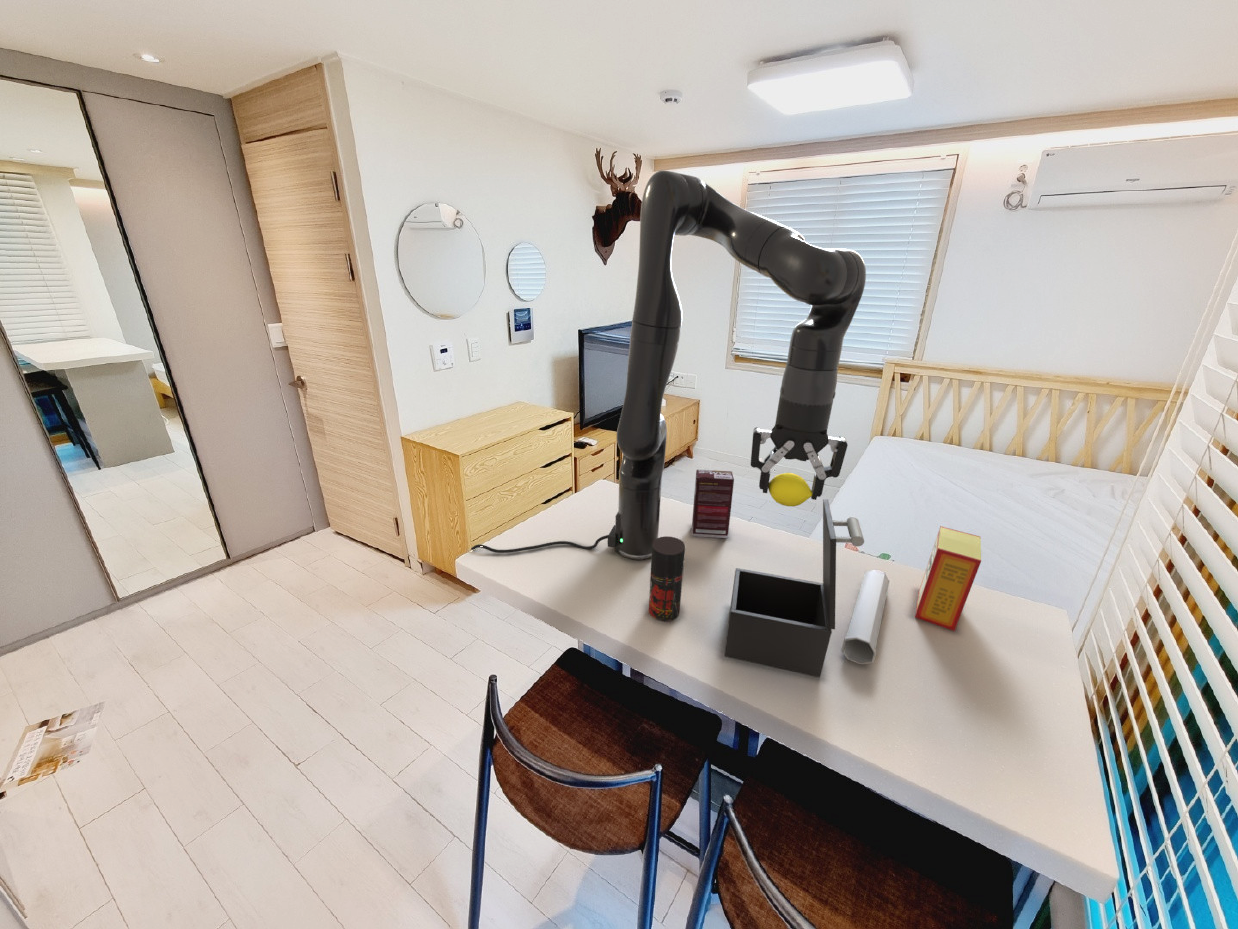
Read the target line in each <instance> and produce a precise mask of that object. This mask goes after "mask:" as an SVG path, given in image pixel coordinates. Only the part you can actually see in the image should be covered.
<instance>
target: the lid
mask: <svg viewBox="0 0 1238 929" xmlns="http://www.w3.org/2000/svg"><path fill="white" fill-rule="evenodd" d="M835 527H847V531H848V536H836V530H835ZM837 543H842V544H843V543H846V544H848V543H850V544H851V545H852V546H854V547H862V546H863V545H864V544H865V538H864V535H863V531H862V528H861V525H860V521H859V519H858V518H857V517H855V516H849V517H848V518H847V519H846V520H844V519H842V520H839V519H838V520H835V519H833V516H832V511H831V506H830V501H829V499H828V498H826V499H825V498H823V499H822V583H823V585H824V592H825V600H826V607H827V614H828V621H829V628H830V629H831V630H836V596H837V595H836V593H837V592H836V590H837V589H836V588H837V586H836V584H837Z"/></svg>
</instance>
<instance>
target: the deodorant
mask: <svg viewBox="0 0 1238 929" xmlns="http://www.w3.org/2000/svg"><path fill="white" fill-rule="evenodd" d="M685 553H686V544H685V542H684V541H682V540H681V539H680V538H678V537H675V536H666V535H665V536H660V537H659V536H658V538H657V539H655V540H654V541H653V543H652V556H651V558H650V576H649V578H650V579H649V594H648V596H649V597H648V614H649V616H650V617H652V618H653V620H657V621H659V622H662V623H663V622H665V623H666V622H667V623H668V622H673V621H674V620H676V619H678V617H679V616H680V611H681V599H682V590H683V589H682V588H683V576H684V566H685V565H684V564H685Z"/></svg>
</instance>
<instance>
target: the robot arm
mask: <svg viewBox="0 0 1238 929" xmlns="http://www.w3.org/2000/svg"><path fill="white" fill-rule="evenodd" d="M639 217H640V220H639V246H638V247H639V248H638V249H639V250H638V251H639V252H638V270H637V278H636V288H635V289H636V291H635V298H634V307H633V313H632V318H631V319H632V320H631V328H630V335H629V347H628V357H627V370H626V388H625V393H624V399H623V404H622V407H621V408H622V409H621V413H620V418H619V422H618V425H617V430H616V444H617V446H618V448H619V451H620V452H621V453H622V459H621V463H620V466H619V471H618V504H617V505H618V507H617V508H618V511H617V512H616V514H615V520H614V522H615V524H614V525H613V526H612V528H611V530H610V531H609V533H608V534H606V535H603V536H601V537H599V538H597V539H596V540H595V542H594V543H593V545H588V546H584V545H581V544H578V543H575V542H572V541H567V540H557V541H552V542H546V543H541V544H536V545H531V546H523V547H518V548H511V549H510V548H509V549H497V548H493V547H490V546H488V545H484V544H481V543H479V544H475V545H473V546H472V547H470V550H471V551H474V550H476V549H481V548H482V549H484V550H487V551H490V552H491V553H496V554H508V553H509V554H510V553H517V552H523V551H529V550H537V549H541V548H545V547H551V546H557V545H568V546H572V547H575V548H579V549H583V550H592V549H595V548H597V547H598V545H599V543H600V542H601V541H603V540H606V539H607V547H608V548H613V549H614V553H618V554H620V555H621V556H622V557H624V558H627V559H629V560H634V561H635V560H636V561H642V560H643V561H644V560H647V559H651V556H652V543H653V541H654V540H655V539H657V538H659V533H660V532H659V531H660V515H661V513H660V512H661V497H662V483H663V482H662V480H663V475H664V469H665V461H666V449H667V438H668V436H667V434H668V427H667V422H666V420H665V418H664V415H663V414H662V404H663V398H664V394H665V390H666V388H667V384H668V381H669V379H670V376H671V373H672V370H673V367H674V364H675V361H676V357H677V352H678V348H679V344H680V337H681V332H682V326H683V314H684V313H683V308H682V304H681V300H680V295H679V292H678V290H677V286H676V284H675V281H674V276H673V272H672V271H673V270H672V256H673V255H672V252H673V243H674V238H675V236H681V237H682V236H683V237H686V236H694V237H698V238H702V239H706V240H710V241H712V242H715V243H717V244H719V245H720V246H722V247H723V248H724V249H725V250H726V251H727V252H728V254H729V255H730V256H731V257H732V258H733V259H735V260H736V261H737V262H738V263H740V264H741V265H743V266H745V267H746V268H748V269H751V271H754V272H755V273H758V274H760V275H761V276H763V277H765V278H768V279H770V280H771V281H772V283H774V284H775V286H777V287H778V288H779V289H780V290H781V291H782V292H784V294H785V295H787V296H788V297H790V298H792V299H793V300H795V301H797V302H799V303H802V304H804V305H808V306H811V307H810V310H809V312H808V315H807V317H806V318H805V319H804V320H802V321H801V322H799V323H798V324H796V325H795V326H794V328H793V329H792V332H791V336H790V341H789V345H788V346H789V347H788V353H787V359H786V364H785V369H784V372H783V375H782V379H781V386H780V389H779V397H778V403H777V404H778V405H777V411H776V415H775V416H776V417H775V422H774V425H773V427H772V428H771V430H770V429H762V428H761V427H759V426H756V427H754V428H753V431H752V443H751V454H750V467H751V468H754V469H755V468H756V469H758V470H760V476H759V483H758V487H759V490H762V493H763V494H768V492H769V489H768V485H769V482H770V478H771V470H772V468H773V467H775V465H777V464H778V463H779V462H781V461H782V459H783V458H784V460H790V461H791V460H797V461H800V462H807V461H809V462H810V464H811V466H812V468H813V470H814V472H815V473H814V476H813V480H812V486H811V491H812V493H813V494H812V496H811V497H810V499H811V500H815V501H816V500H818V498H821V496H822V495H823V491H824V486H825V482H826V479H827V478H828V479H829V478H835V479H836V478H839V476H840V474H841V472H842V471H841V470H842V467H843V463H844V460H845V456H846V452H847V449H848V441H847V439H846V437H845V436H844V435H840V436H838V437H834V436H829V435H828V429H829V423H830V419H831V413H832V409H833V404H834V400H835V398H836V394H837V393H836V389H837V383H838V370H839V365H840V361H841V355H842V351H843V344H844V338H845V336H846V334H847V332H848V329H849V328H850V326H851V324H852V321H853V319H854V317H855V315H856V312H857V310H858V307H859V304H860V302H861V300H862V297H863V294H864V291H865V287H866V280H867V270H866V263H865V261H864V259H863V257H862V256H861V255H860V254H859V253H858V252H857V251H855V250H853V249H849V248H822V247H819V246H816V245H813V244H811V243H809V242H807V241H806V239H805V237H804V236H803V235H802V234H801V233H800V232H798V231H797V230H795V229H793V228H792V227H789V226H786V225H784V224H782V223H780V222H777V221H775V220H773V219H771V218H768V217H765V216H763V215H760V214H758V213H755V212H752V211H750V210H747V209H745V208H743V207H741V206H739V205H737V204H735V203H733V202H732V201H730V200H729V199H728V198H726V197H724V195H722V194H721V193H720V192H718V191H717V190H715V189H714V188H713V187H711V185H709V184H708V183H706V182H705V181H703V180H702V179H701V178H699V177H696V176H693V175H690V174H684V173H679V172H675V171H671V170H659V171H656V172H655V173H653V174H652V175H651V177H650V178H649V179H648V181H647V183H646V185H645V187H644V191H643V194H642V199H641V206H640V216H639ZM768 439H770V440H771V441H772V444H773V445H774V446H773V448H772V449H771V450H770V452H769V453H768V454H767V455H766V456H765V458H764V459H763V458H761V457H760V451H761V445H764V444H766V442H767V440H768ZM828 445H829V446H830V451H831V452H832V457H831V460H830V464H829V465H827V466H824V464H823V462H822V460H821V457H820V454H819V453H820V452H821V451H822V450H823V449H824V448H825V447H827V446H828ZM480 546H483V547H480Z"/></svg>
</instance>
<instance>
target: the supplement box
mask: <svg viewBox="0 0 1238 929" xmlns="http://www.w3.org/2000/svg"><path fill="white" fill-rule="evenodd" d="M734 483H735V478H734V474H733V471H732V470H730V471H729V470H714V469H713V470H710V469H696V471H695V482H694V494H693V507H692V517H691V530H692V532H691V533H692V537H697V538H698V537H699V538H717V539H728V538H729V530H730V521H731V513H732V512H731V511H732V504H733V495H734V494H733V493H734Z"/></svg>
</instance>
